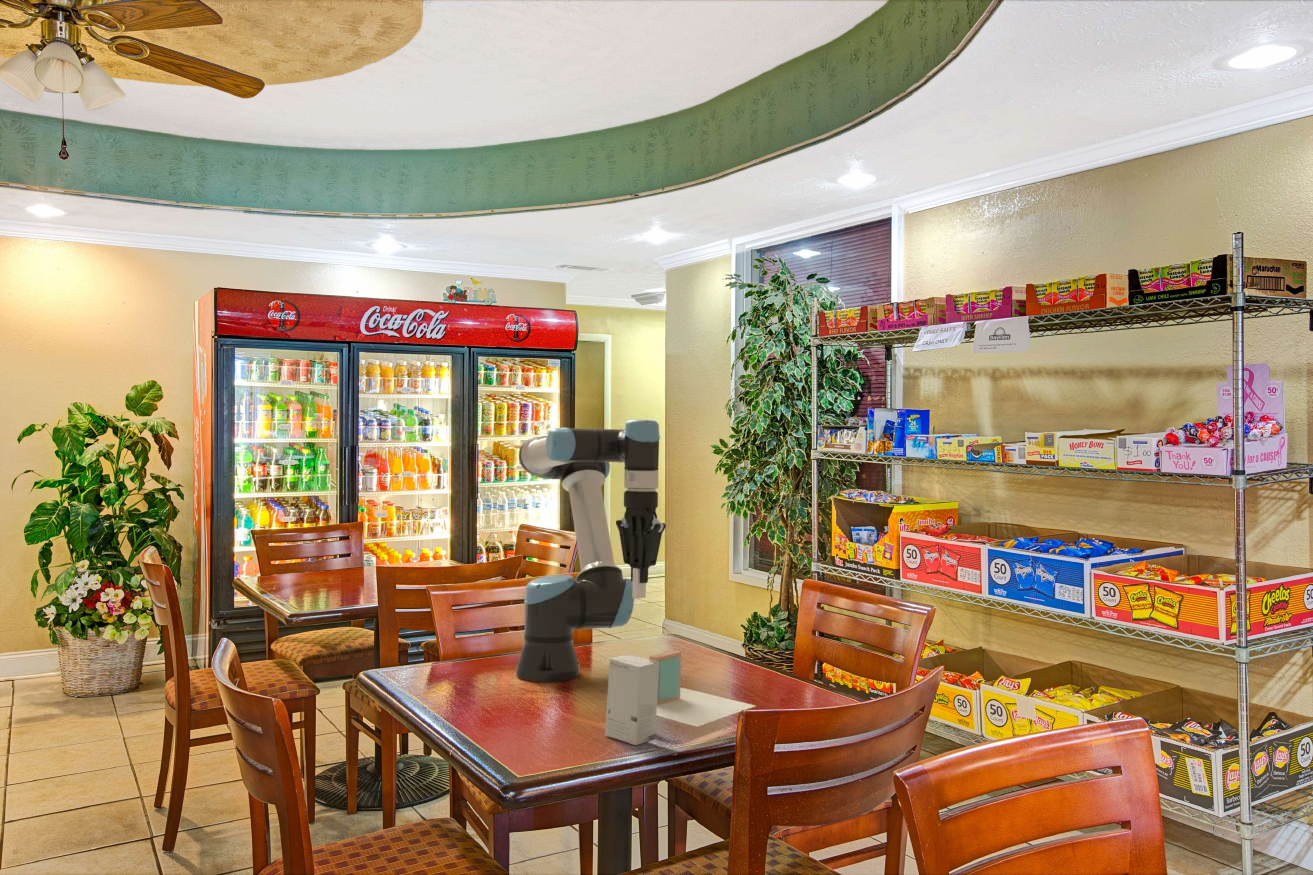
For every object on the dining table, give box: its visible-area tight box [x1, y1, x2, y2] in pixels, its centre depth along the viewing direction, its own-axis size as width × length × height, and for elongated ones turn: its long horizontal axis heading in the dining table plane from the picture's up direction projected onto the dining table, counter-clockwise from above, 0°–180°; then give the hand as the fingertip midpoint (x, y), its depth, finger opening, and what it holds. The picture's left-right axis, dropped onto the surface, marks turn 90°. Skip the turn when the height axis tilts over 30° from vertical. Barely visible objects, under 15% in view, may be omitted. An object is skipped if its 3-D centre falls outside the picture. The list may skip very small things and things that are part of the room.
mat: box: [656, 686, 756, 728], centre depth 188 cm, size 24×20×1 cm
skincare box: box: [604, 654, 659, 746], centre depth 169 cm, size 8×6×15 cm
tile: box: [649, 649, 682, 705], centre depth 190 cm, size 2×8×10 cm, turn 139°
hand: (639, 597), depth 196 cm, fingers closed
